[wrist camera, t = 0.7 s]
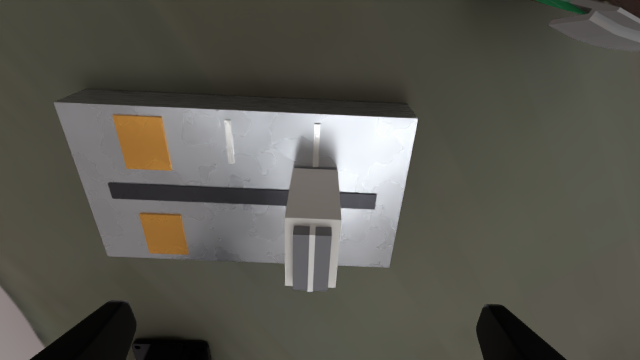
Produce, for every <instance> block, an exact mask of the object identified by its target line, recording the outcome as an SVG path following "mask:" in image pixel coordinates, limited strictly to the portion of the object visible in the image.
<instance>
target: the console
mask: <svg viewBox="0 0 640 360" xmlns="http://www.w3.org/2000/svg"><path fill="white" fill-rule="evenodd" d="M54 105H55V108H56V111H57V113H58V116H59V119H60V122H61V125H62V128H63V130H64V133H65V136H66V139H67V142H68V145H69V147H70V150H71V153H72V156H73V159H74V162H75V164H76V167H77V170H78V173H79V176H80V179H81V181H82V184H83V187H84V190H85V193H86V196H87V198H88V201H89V204H90V207H91V210H92V213H93V215H94V218H95V221H96V224H97V227H98V230H99V232H100V235H101V238H102V241H103V244H104V247H105V249H106V252H107V255H108V256H114V257H140V258H165V259H190V260H215V261H240V262H265V263H285V212H286V206H287V200H288V195H289V189H290V183H291V177H292V172H293V168H303V169H326V170H338V179H339V192H340V205H341V219H342V221H341V232H340V243H339V254H338V264H337V265H341V266H366V267H389V265H390V260H391V255H392V250H393V245H394V240H395V234H396V229H397V224H398V219H399V214H400V209H401V204H402V199H403V193H404V188H405V183H406V178H407V173H408V168H409V163H410V157H411V152H412V147H413V142H414V137H415V132H416V127H417V122H418V118H417V117H416V115H415V114H414V112H413V111H412V110H411V108H410V107H409V105H408V104H401V103H379V102H357V101H335V100H314V99H292V98H270V97H248V96H226V95H204V94H182V93H160V92H139V91H117V90H95V89H84V90H81V91H79V92H77V93H74V94H72V95H70V96H67V97H65V98H62V99H60V100H58V101H55V102H54Z"/></svg>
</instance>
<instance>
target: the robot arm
mask: <svg viewBox="0 0 640 360" xmlns="http://www.w3.org/2000/svg"><path fill="white" fill-rule="evenodd" d="M135 331H136V319H135V317H134V314H133V312H132V309H131V307H130V304H129V303H128V302H127V301H125V300H112V301H109V302H107V303H105V304H104V305H103V306H101V307H100V308H99V309H97V310H96V311H95V312H93V313H92V314H90V315H89V316H88V317H86V318H85V319H84V320H82V321H81V322H80V323H78V324H77V325H76V326H74V327H73V328H72V329H70V330H69V331H68V332H66V333H65V334H64V335H62V336H61V337H59V338H58V339H57V340H55V341H54V342H53V343H51V344H50V345H49V346H47V347H46V348H45V349H43V350H42V351H41V352H39V353H38V354H37V355H35V356H34V357H32V358H31V359H30V360H126V357H127V354H128V351H129V349H130V346H131V343H132V340H133V337H134V334H135ZM476 332H477V337H478V341H479V344H480V348H481V351H482V355H483V359H484V360H567V359H565V358H564V357H563V356H562V355H561V354H559V353H558V352H557V351H556V350H555V349H554V348H552V347H551V346H550V345H549V344H548V343H547V342H545V341H544V340H543V339H542V338H541V337H540V336H538V335H537V334H536V333H535V332H534V331H532V330H531V329H530V328H529V327H528V326H527V325H525V324H524V323H523V322H522V321H521V320H520V319H518V318H517V317H516V316H515V315H514V314H513V313H511V312H510V311H509V310H508V309H507V308H505V307H504V306H502V305H499V304H486V305H485V306H483V308H482V311H481V314H480V317H479V320H478V323H477V326H476ZM132 349H133V352H134V354H135V357H136V360H211V356H210V351H209V346H208V344H207V343H205V342H190V341H163V340H135V341H134V343H133V344H132Z"/></svg>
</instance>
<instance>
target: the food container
mask: <svg viewBox="0 0 640 360" xmlns="http://www.w3.org/2000/svg"><path fill="white" fill-rule="evenodd" d="M532 1H536V2H539V3H543V4H546V5H550V6H553V7H557V8H560V9H564V10H567V11H571V12H575V13H578V14H582V15H577V16H571V17H565V18H559V19H553V20H551V21H550V23H549V26H551V27H552V28H554V29H556V30H558V31H560V32H562V33H563V34H565V35H567V36H569V37H571V38H573V39H575V40H579V41H582V42H585V43H588V44H591V45H595V46H598V47H601V48H608V49H617V50H626V51H640V0H532Z"/></svg>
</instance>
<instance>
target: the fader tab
mask: <svg viewBox="0 0 640 360" xmlns="http://www.w3.org/2000/svg"><path fill="white" fill-rule="evenodd" d="M341 221H342V219H341V205H340V192H339V179H338V170H326V169H303V168H293V172H292V177H291V183H290V189H289V195H288V200H287V206H286V212H285V286H293V290H307V292H313V291H328V287H331V288H335V286H336V275H337V264H338V254H339V243H340V232H341Z"/></svg>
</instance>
